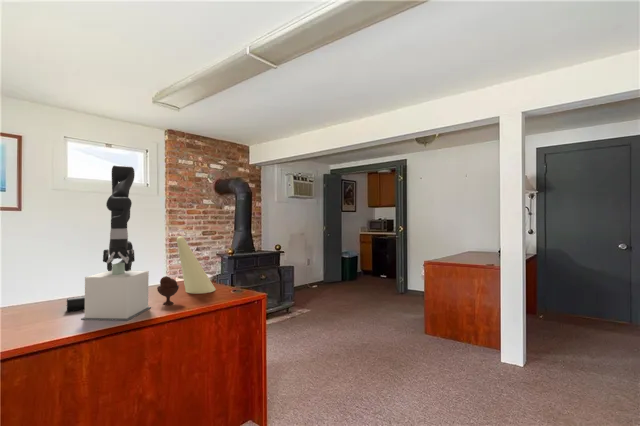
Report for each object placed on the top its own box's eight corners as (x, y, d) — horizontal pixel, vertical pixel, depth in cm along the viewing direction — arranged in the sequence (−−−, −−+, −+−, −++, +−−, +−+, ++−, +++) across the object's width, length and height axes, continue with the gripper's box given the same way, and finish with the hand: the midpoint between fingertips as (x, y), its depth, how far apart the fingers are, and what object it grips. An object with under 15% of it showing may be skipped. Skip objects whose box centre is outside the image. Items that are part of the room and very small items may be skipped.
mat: (80, 319, 161) (80, 318, 161) (109, 307, 183) (109, 306, 183) (127, 320, 161) (127, 319, 161) (151, 307, 182) (151, 306, 182)
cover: (84, 317, 162) (85, 266, 162) (110, 306, 182) (111, 260, 182) (126, 318, 162) (127, 266, 162) (148, 307, 182) (148, 261, 182)
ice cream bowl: (164, 307, 183) (164, 278, 183) (153, 304, 190) (153, 276, 190) (182, 303, 191) (183, 276, 192) (171, 300, 198) (172, 273, 198)
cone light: (209, 286, 238) (209, 234, 238) (220, 290, 224) (220, 235, 224) (171, 290, 223) (171, 235, 223) (180, 296, 209) (181, 237, 209)
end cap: (67, 313, 171) (67, 299, 171) (65, 310, 177) (65, 297, 177) (91, 310, 178) (91, 296, 178) (89, 307, 183) (89, 294, 183)
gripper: (99, 238, 168) (99, 272, 168) (129, 238, 168) (128, 272, 168) (109, 237, 176) (109, 269, 176) (137, 237, 176) (137, 269, 176)
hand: (118, 271), depth 172 cm, fingers open, 8 cm apart
